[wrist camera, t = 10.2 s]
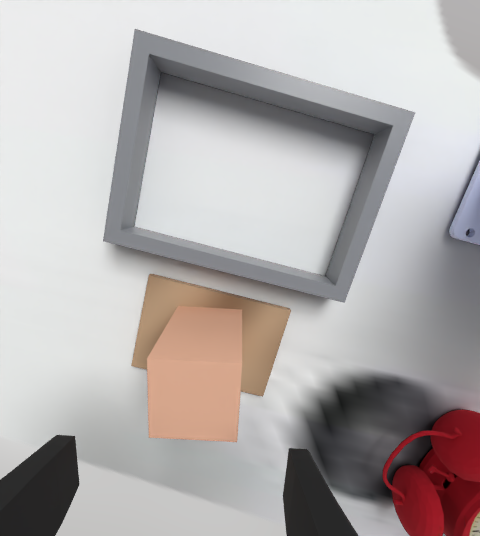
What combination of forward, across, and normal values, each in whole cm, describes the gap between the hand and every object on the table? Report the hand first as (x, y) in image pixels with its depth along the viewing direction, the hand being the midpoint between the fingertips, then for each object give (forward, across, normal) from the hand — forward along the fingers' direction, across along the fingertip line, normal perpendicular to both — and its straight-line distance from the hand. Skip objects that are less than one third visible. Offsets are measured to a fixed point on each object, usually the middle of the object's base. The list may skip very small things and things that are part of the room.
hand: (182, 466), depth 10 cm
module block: (+9, 0, 0) cm, 9 cm away
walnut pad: (+9, 0, 0) cm, 9 cm away
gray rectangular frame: (+9, -2, -10) cm, 14 cm away
